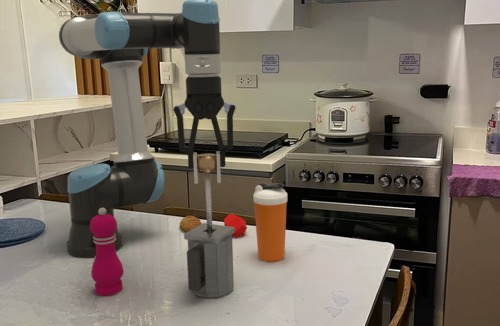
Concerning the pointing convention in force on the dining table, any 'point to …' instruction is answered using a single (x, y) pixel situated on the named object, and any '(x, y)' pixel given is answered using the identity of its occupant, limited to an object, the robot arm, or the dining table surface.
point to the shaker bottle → (270, 220)
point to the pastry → (189, 223)
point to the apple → (236, 224)
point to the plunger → (207, 181)
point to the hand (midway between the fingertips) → (207, 181)
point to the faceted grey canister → (210, 261)
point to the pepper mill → (106, 255)
